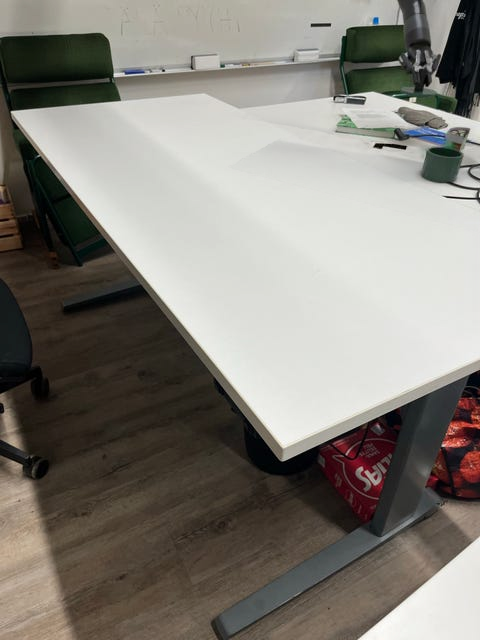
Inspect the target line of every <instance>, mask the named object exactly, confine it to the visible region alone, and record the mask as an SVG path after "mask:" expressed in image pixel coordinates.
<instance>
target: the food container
mask: <svg viewBox="0 0 480 640" xmlns="http://www.w3.org/2000/svg"><path fill="white" fill-rule="evenodd" d="M470 132H471V127H465V126H464V127H463V126H454V127H450V128H449V129H448V130H447V131H446V133H445V135H444V137H445V144H444V147H446V148H451V149H455V150H458V151H460V152H462V151H463V150H464V149H465V146H466V144H467V141H468V137H469V135H470Z"/></svg>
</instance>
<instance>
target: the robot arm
mask: <svg viewBox="0 0 480 640" xmlns="http://www.w3.org/2000/svg"><path fill="white" fill-rule="evenodd" d="M396 1H397V5H398V7H399V9H400V12H401V15H402V22H403V23H402V24H403V39H404V47H405V52H401V54H400V55H399V57H398V59H397V61H398V62H399V64H400V66H401V67H402V69H403V71H404V72H405V74H406V75H411V78H412V84H413V85H414V87H418V86H419V84H420V74H419V72H418V71H419V69H428V74H427V78H426V82H425V85H424V88H428V87H429V86H431V84H432V82H433V77H432V76H433V75H434V73H435V72H437V70H438V67H439V64H440V61H441V59H442V54H441V53H438V54H435V53H434V51H433V50H432V39H431V32H430V24H429V20H428V17H427V16H428V14H427V8H426V4H425V1H424V0H396Z"/></svg>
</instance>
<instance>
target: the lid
mask: <svg viewBox="0 0 480 640" xmlns="http://www.w3.org/2000/svg"><path fill="white" fill-rule="evenodd" d="M418 72H419V74H420V84H419V86H418V87H415V86H403V87H401V88H400V89H399V91H400V93H402V94H405V95H407V96H409V97H414V98H430V97H434V96H436V95H437V93H438V92H437V91H436V90H435V89H430V88H428V87H425V82H426V78H427V74H428V69H421V68H419V71H418Z"/></svg>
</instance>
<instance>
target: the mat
mask: <svg viewBox="0 0 480 640" xmlns="http://www.w3.org/2000/svg"><path fill="white" fill-rule="evenodd" d="M384 147H385V148H390V149H398V150H403V151H407V148H408V145H405V144H400V143H389V142H388V143H386V142H385V143H384V142H375V143H374V144H373V146H372V148H373V149H379V150H383V148H384Z"/></svg>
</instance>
